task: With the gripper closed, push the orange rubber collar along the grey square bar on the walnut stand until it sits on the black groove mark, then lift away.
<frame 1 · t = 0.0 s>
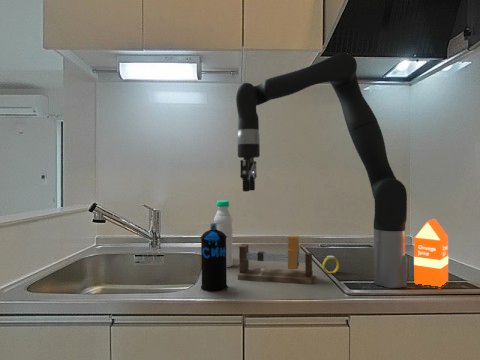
hand: (249, 190, 128), 29 cm above the worktop, fingers open, 8 cm apart
aerosol can: (214, 288, 116), on the worktop
orange juice: (431, 283, 118), on the worktop
rig: (275, 277, 126), on the worktop
collar: (293, 251, 125), point 9 cm above the worktop, slide at -6.0 cm
water bottle: (223, 266, 143), on the worktop
watch: (330, 273, 132), on the worktop
grey square bar: (275, 256, 126), point 6 cm above the worktop
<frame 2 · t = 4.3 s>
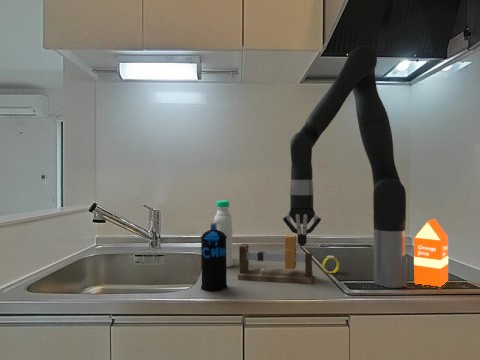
hand: (302, 245, 124), 11 cm above the worktop, fingers closed
collar: (290, 251, 125), point 9 cm above the worktop, slide at -5.1 cm, touching gripper
everything else where it was.
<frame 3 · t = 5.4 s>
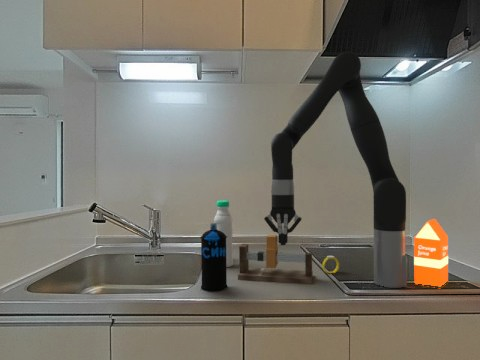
hand: (283, 244, 125), 11 cm above the worktop, fingers closed
collar: (272, 250, 126), point 9 cm above the worktop, slide at 1.2 cm, touching gripper
everything else where it was.
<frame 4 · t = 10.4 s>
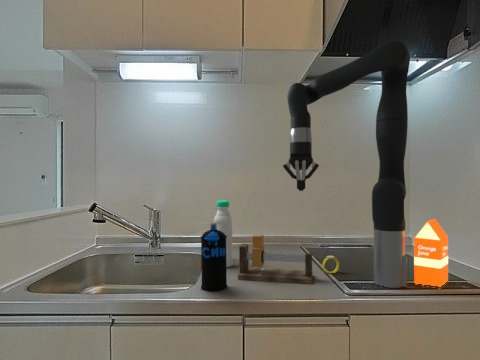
hand: (301, 190, 132), 29 cm above the worktop, fingers closed
collar: (258, 250, 128), point 9 cm above the worktop, slide at 6.0 cm
everything else where it was.
at the end: collar slide at 6.0 cm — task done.
